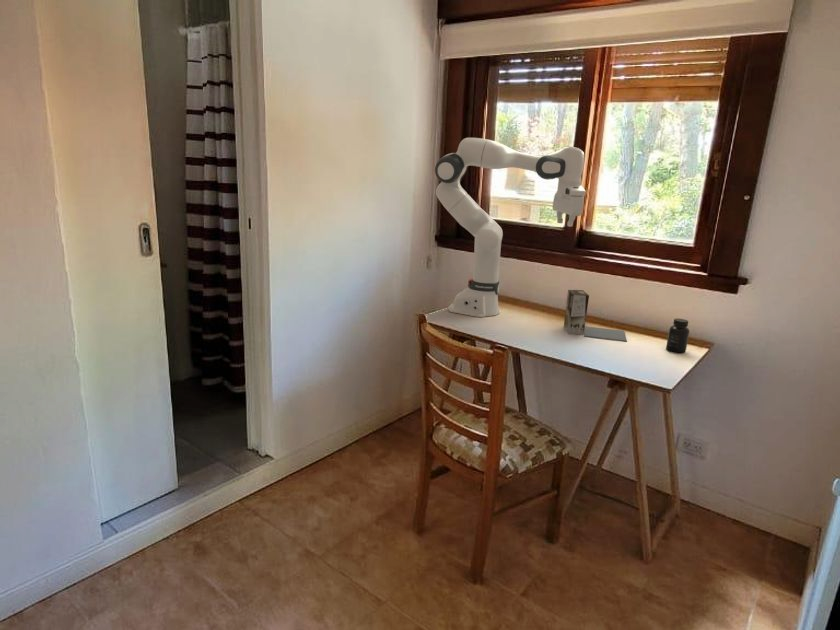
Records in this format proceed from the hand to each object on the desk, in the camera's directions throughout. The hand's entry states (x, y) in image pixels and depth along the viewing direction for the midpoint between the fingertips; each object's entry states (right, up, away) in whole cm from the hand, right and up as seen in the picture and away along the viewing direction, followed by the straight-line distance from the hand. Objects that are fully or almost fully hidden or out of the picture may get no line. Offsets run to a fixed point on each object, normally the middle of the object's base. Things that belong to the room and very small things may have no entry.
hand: (564, 224), depth 220 cm
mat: (+16, -44, 0) cm, 47 cm away
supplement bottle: (+37, -50, -15) cm, 64 cm away
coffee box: (+4, -43, +3) cm, 43 cm away
